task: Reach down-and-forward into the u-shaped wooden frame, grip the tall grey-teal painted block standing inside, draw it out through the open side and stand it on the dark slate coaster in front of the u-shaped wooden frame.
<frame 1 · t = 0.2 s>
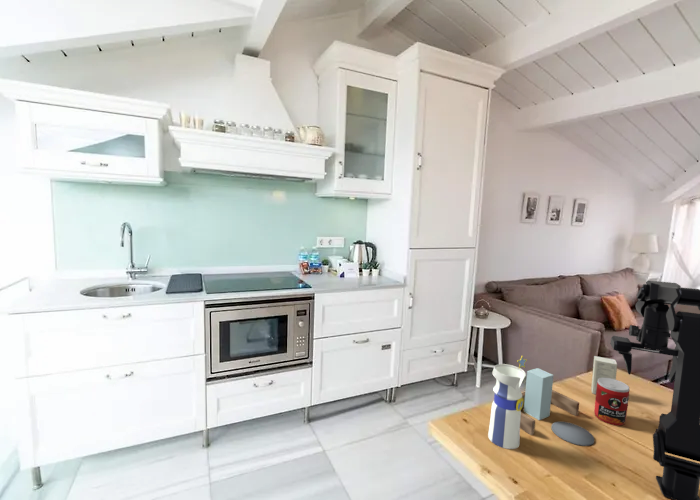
hand: (649, 377, 98), 15 cm above the table, tool pointing down, fingers open, 9 cm apart
block: (536, 413, 104), on the table
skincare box: (601, 394, 117), on the table
coaster: (572, 433, 95), on the table
blue striped jug: (504, 439, 92), on the table
canned food: (609, 419, 103), on the table
u-shaped wooden frame: (539, 415, 103), on the table
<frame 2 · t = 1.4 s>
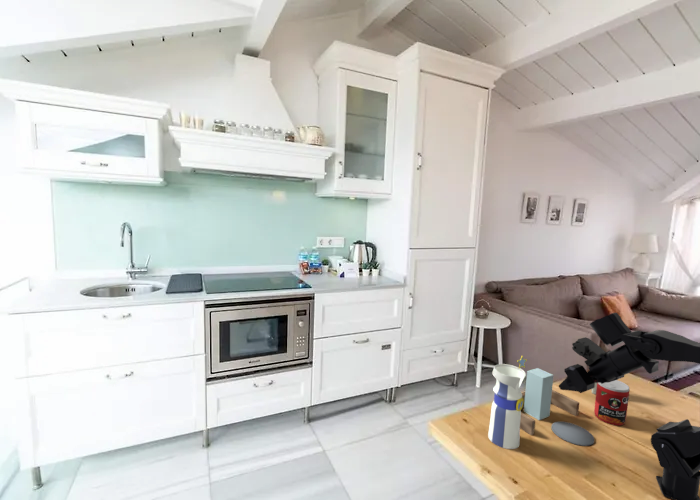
hand: (569, 384, 95), 13 cm above the table, tool tilted 45°, fingers open, 9 cm apart
nothing on the table moved.
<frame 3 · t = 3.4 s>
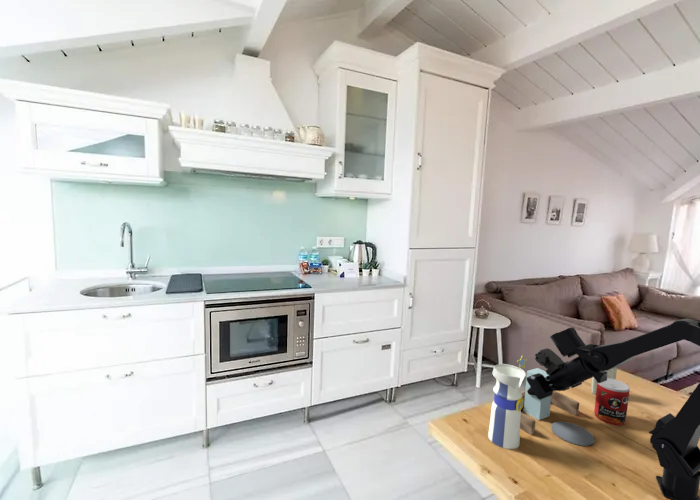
hand: (534, 390, 105), 7 cm above the table, tool tilted 45°, fingers closed on block, 5 cm apart
block: (536, 413, 104), on the table, touching gripper
everything else where it was.
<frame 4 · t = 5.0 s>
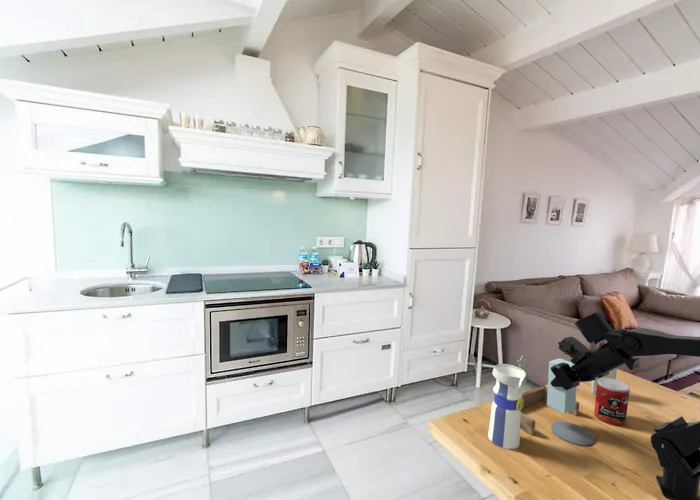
hand: (557, 382, 98), 12 cm above the table, tool tilted 45°, fingers closed on block, 5 cm apart
block: (560, 407, 97), point 6 cm above the table, touching gripper
everything else where it was.
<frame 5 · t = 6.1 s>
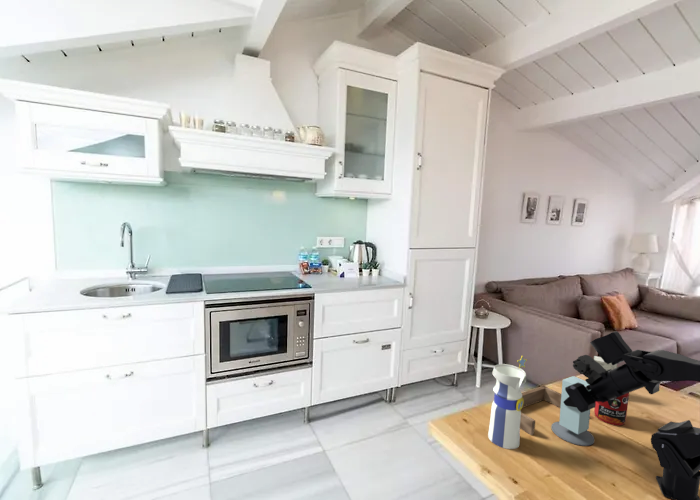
hand: (570, 401, 95), 9 cm above the table, tool tilted 45°, fingers closed on block, 5 cm apart
block: (573, 426, 94), point 2 cm above the table, touching gripper
everything else where it was.
when the fingers open (7 cm above the table, at t = 6.7 s): block stays where it is, resting on coaster.
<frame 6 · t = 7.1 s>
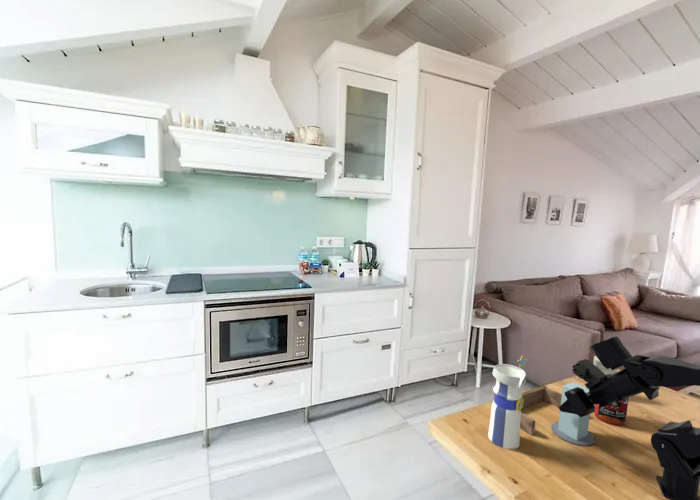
hand: (569, 405, 95), 8 cm above the table, tool tilted 45°, fingers open, 9 cm apart
block: (572, 432, 95), resting on coaster
everything else where it was.
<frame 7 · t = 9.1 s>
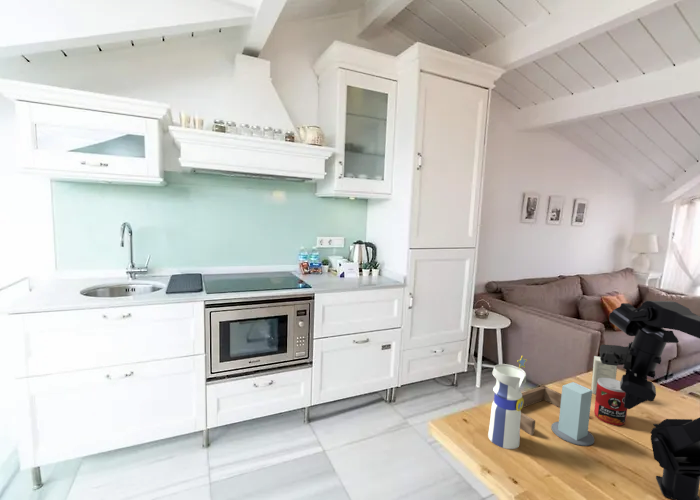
hand: (626, 397, 89), 13 cm above the table, tool pointing down, fingers open, 9 cm apart
nothing on the table moved.
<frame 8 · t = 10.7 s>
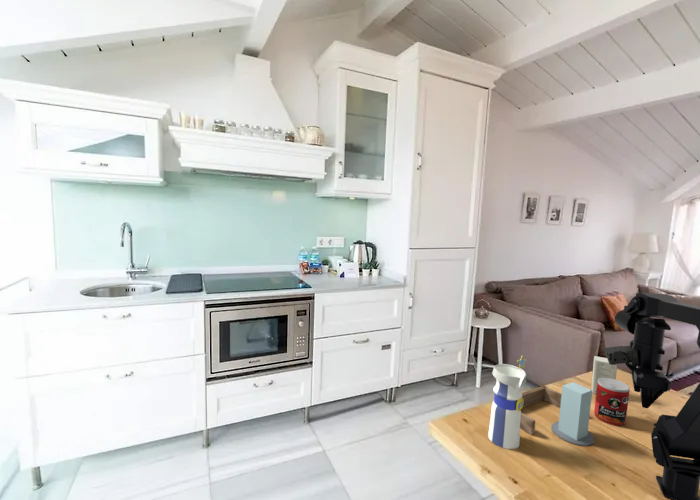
hand: (640, 399, 89), 13 cm above the table, tool pointing down, fingers open, 9 cm apart
nothing on the table moved.
at the end: block inside the target area (0.1 cm from its centre), resting on coaster; block tilted 0°; the gripper is holding nothing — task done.
